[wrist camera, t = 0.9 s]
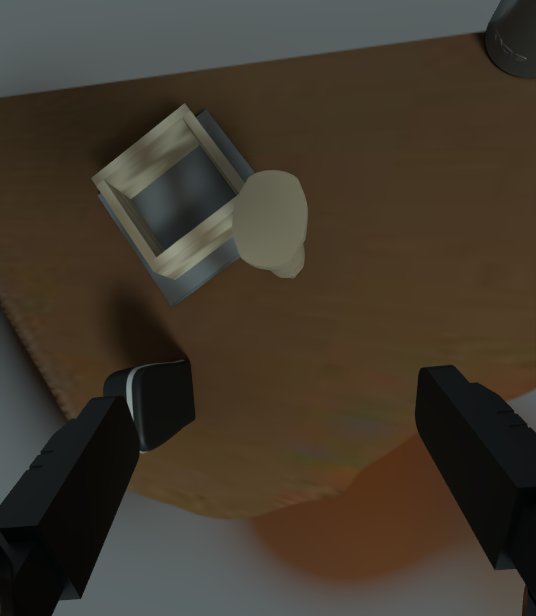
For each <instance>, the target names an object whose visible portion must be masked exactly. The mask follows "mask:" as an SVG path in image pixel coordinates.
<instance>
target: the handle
mask: <svg viewBox="0 0 536 616" xmlns="http://www.w3.org/2000/svg"><path fill="white" fill-rule="evenodd" d="M307 220H308V209H307V203H306V198H305V195H304V193H303V190H302V188H301V185H300V183H299V180H298V179H297V178H296V177H295V176H293V175H291V174H289V173H287V172H283V171H277V170H268V171H262V172H258V173H256V174H254V175H252V176H250V177H249V178H248V179H247V181H246V183H245V184H244V186H243V188H242V189H241V191H240V193H239V195H238V197H237V199H236V201H235V206H234V212H233V221H232V233H233V237H234V241H235V244H236V247H237V249H238V252H239V255H240V257H241V258H242V259H243V260H244V261H245V262H247V263H248V264H250V265H251V266H253V267H256V268H259V269H266V270H270V271H271V272H273V273H274V274H275V275H277V276H279V277H280V278H291V279H293V278H295V277H296V274H298V273H299V272H300V270H301V269H302V268H303V265H304V259H305V252H304V245H303V242H304V240H305V237H306V231H307Z"/></svg>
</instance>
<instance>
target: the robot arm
mask: <svg viewBox="0 0 536 616" xmlns="http://www.w3.org/2000/svg"><path fill="white" fill-rule="evenodd" d="M485 44H486V49H487V52H488V54H489V56H490V58H491V59H492V61H493V62H494V63H495V64H496V65H497V66H498V67H499V68H500V69H502V70H503V71H505V72H507V73H509V74H511V75H514V76H518V77H523V78H536V0H501V1H500V3H499V5H498V7H497V9H496V11H495V12H494V14H493V16H492V18H491V20H490V22H489V24H488V27H487V30H486V35H485ZM415 420H416V425H417V429H418V432H419V435H420V437H421V439H422V441H423V442H424V444H425V446H426V448H427V450H428V452H429V453H430V455H431V457H432V459H433V460H434V462H435V464H436V466H437V468H438V469H439V471H440V473H441V475H442V477H443V478H444V480H445V482H446V484H447V486H448V487H449V489H450V491H451V493H452V495H453V496H454V498H455V500H456V501H457V503H458V505H459V507H460V509H461V511H462V512H463V514H464V516H465V518H466V520H467V521H468V523H469V525H470V527H471V529H472V530H473V532H474V534H475V536H476V537H477V539H478V541H479V543H480V545H481V546H482V548H483V550H484V552H485V554H486V556H487V557H488V559H489V561H490V563H491V564H492V566H493V568H494V570H505V569H517V571H518V572H519V574H520V576H521V577H522V579H523V581H524V582H525V587H524V592H523V602H522V603H523V604H522V616H536V432H535V431H534V430H532V428H528V426H527V423H526V422H525V421H524V420H523V419H522V418H521V417H520V416H519V415H518V414H515V413H514V410H513V409H512V408H511V407H510V406H509V405H508V404H507V403H506V402H505V401H504V400H503V399H502V398H501V397H500V396H499V395H498V394H496V393H495V392H493V391H491V390H489V389H488V388H486V387H484V386H483V385H481V384H479V383H469V382H468V381H467V379H466V378H465V377H464V376H463V375H462V374H461V373H460V372H459V371H458V370H457V368H456V367H454V366H453V365H445V366H435V367H424V368H421V369H420V371H419V375H418V385H417V397H416V408H415ZM139 454H140V439H139V435H138V432H137V429H136V427H135V424H134V421H133V418H132V415H131V412H130V409H129V406H128V403H127V401H126V399H125V397H124V396H122V395H118V396H108V397H97V398H92V399H91V400H90V401H89V402H88V403H87V405H86V406H85V407H84V409H83V410H82V412H81V413H80V414H79V416H78V417H77V419H72V420H70V421H69V422H68V423H67V424H66V425H64V426H63V427H62V428H61V429H59V430H58V431H57V432H56V433H55V434H54V435H53V436H52V437H51V438H50V440H49V441H48V443H47V444H46V445H45V446H44V448H43V449H42V450H41V454H40V455H38V456H37V457H36V458H35V460H34V461H33V462H32V464H31V465H30V469H29V470H27V471H26V472H25V473H24V474H23V475H22V477H21V478H20V480H19V481H18V482H17V483H16V485H15V486H14V487H13V489H12V490H11V491H10V493H9V494H8V495H7V497H6V498H5V499H4V501H3V502H2V503H1V505H0V616H52V614H53V612H54V609H55V607H56V605H57V603H58V601H59V600H71V599H81V597H82V595H83V593H84V590H85V588H86V585H87V583H88V580H89V578H90V576H91V573H92V571H93V568H94V566H95V563H96V561H97V559H98V556H99V554H100V551H101V549H102V546H103V544H104V542H105V539H106V537H107V534H108V532H109V530H110V527H111V525H112V522H113V520H114V518H115V515H116V513H117V510H118V508H119V505H120V503H121V500H122V498H123V496H124V493H125V491H126V489H127V486H128V484H129V481H130V479H131V476H132V474H133V472H134V469H135V467H136V464H137V462H138V459H139Z"/></svg>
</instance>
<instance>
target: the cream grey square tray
mask: <svg viewBox="0 0 536 616" xmlns="http://www.w3.org/2000/svg"><path fill="white" fill-rule="evenodd" d="M254 174H255V173H254V171H253V170H252V169H251V167H250V166H249V165H248V163H247V162H246V161H245V159H244V158H243V157H242V156H241V154H240V153H239V152H238V150H237V149H236V148H235V146H234V145H233V144H232V143H231V141H230V140H229V139H228V137H227V136H226V135H225V133H224V132H223V131H222V129H221V128H220V127H219V126H218V124H217V123H216V122H215V120H214V119H213V118H212V116H211V115H210V114H209V112H208V111H207V110H204V111H203V112H202V113H201V114H199V115H198V116H197V117H196V118H195V116H194V115H193V114H192V112H191V111H190V110H189V108H188V107H187V106H186V104H185V103H184V104H183V105H182V106H181V107H179V108H178V109H177V110H176V111H174V112H173V113H172V114H171V115H169V116H168V117H167V118H166V119H164V120H163V121H162V122H161V123H159V124H158V125H157V126H156V127H154V128H153V129H152V130H151V131H150V132H148V133H147V134H146V135H145V136H143V137H142V138H141V139H140V140H138V141H137V142H136V143H135V144H133V145H132V146H131V147H130V148H128V149H127V150H126V151H125V152H123V153H122V154H121V155H120V156H118V157H117V158H116V159H115V160H113V161H112V162H111V163H110V164H108V165H107V166H106V167H105V168H103V169H102V170H101V171H100V172H98V173H97V174H96V175H95V176H93V177H92V178H91V179H92V180H93V182H94V183H95V185H96V186H97V188H98V189H99V191H100V192H101V193H100V194H99V195H98V197H99V198H100V200H101V201H102V203H103V204H104V206H105V207H106V209H107V210H108V212H109V213H110V215H111V216H112V218H113V219H114V221H115V222H116V224H117V225H118V227H119V228H120V230H121V231H122V233H123V234H124V236H125V237H126V239H127V240H128V242H129V243H130V245H131V246H132V248H133V250H134V251H135V253H136V254H137V256H138V257H139V259H140V260H141V262H142V263H143V265H144V266H145V268H146V269H147V271H148V272H149V274H150V275H151V277H152V278H153V280H154V281H155V283H156V284H157V286H158V287H159V289H160V290H161V292H162V293H163V295H164V296H165V298H166V299H167V301H168V302H169V304H170V305H171V306H175V305H177V304H178V303H179V302H181V301H182V300H183V299H185V298H186V297H187V296H189V295H190V294H191V293H193V292H194V291H195V290H197V289H198V288H199V287H201V286H202V285H203V284H205V283H206V282H207V281H209V280H210V279H211V278H213V277H214V276H215V275H217V274H218V273H219V272H221V271H222V270H223V269H225V268H226V267H227V266H229V265H230V264H231V263H233V262H234V261H235V260H237V259H238V258H239V257H240V255H239V252H238V249H237V247H236V244H235V241H234V237H233V233H232V221H233V212H234V206H235V201H236V199H237V197H238V195H239V193H240V191H241V189H242V188H243V186H244V184H245V183H246V181H247V179H248V178H249V177H250V176H252V175H254Z"/></svg>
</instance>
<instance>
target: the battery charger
mask: <svg viewBox="0 0 536 616" xmlns="http://www.w3.org/2000/svg"><path fill="white" fill-rule="evenodd" d="M118 395H122V396H124V397H125V399H126V401H127V403H128V406H129V409H130V412H131V415H132V418H133V421H134V424H135V427H136V429H137V432H138V435H139V439H140V453H145V452H148V451H151V450H154V449H155V448H157V447H159V446H160V445H162V444H163V443H165V442H166V441H167V440H169V439H170V438H171V437H173V436H174V435H175V434H176V433H177V432H179V431H180V430H181V429H182V428H183V427H185V426H186V425H188V424H189V423H191V422H192V421H194V420H195V407H194V395H193V384H192V374H191V364H190V361H188V360H179V361H175V362H165V363H155V364H148V365H144V366H137V367H132V368H127V369H123V370H119V371H116V372H114V373H112V374H111V375H110V376H109V377H108V378H107V379H106V381H105V383H104V388H103V397H108V396H118Z"/></svg>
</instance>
